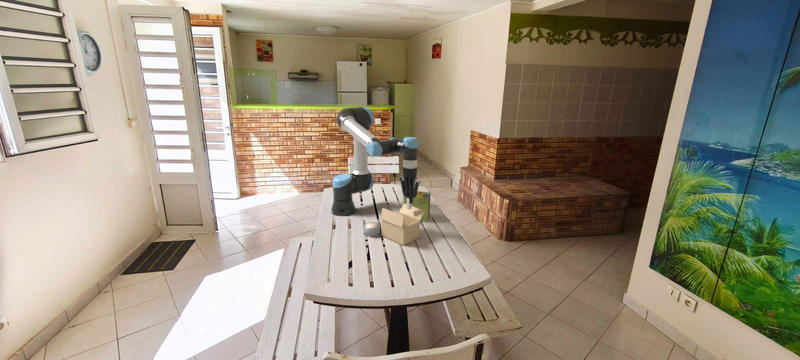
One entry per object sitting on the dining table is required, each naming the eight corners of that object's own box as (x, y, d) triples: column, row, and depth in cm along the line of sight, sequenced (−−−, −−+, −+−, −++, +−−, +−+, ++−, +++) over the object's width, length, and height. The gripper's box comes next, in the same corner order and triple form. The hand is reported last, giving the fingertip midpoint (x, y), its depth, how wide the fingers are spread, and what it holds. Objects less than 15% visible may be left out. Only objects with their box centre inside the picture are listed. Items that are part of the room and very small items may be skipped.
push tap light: (360, 233, 189) (360, 225, 187) (372, 228, 195) (372, 220, 194) (371, 238, 183) (371, 230, 181) (383, 233, 189) (383, 225, 188)
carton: (380, 235, 186) (380, 218, 183) (396, 228, 196) (397, 211, 193) (404, 246, 176) (404, 228, 173) (420, 237, 185) (420, 220, 182)
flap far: (419, 219, 183) (420, 220, 183) (425, 210, 185) (425, 211, 185) (398, 212, 192) (399, 212, 193) (404, 203, 194) (404, 203, 195)
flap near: (381, 218, 183) (381, 218, 182) (382, 208, 182) (382, 208, 181) (402, 227, 173) (402, 227, 173) (404, 216, 172) (403, 216, 172)
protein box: (428, 222, 204) (428, 197, 199) (402, 219, 207) (403, 195, 202) (430, 215, 214) (431, 191, 209) (405, 213, 217) (406, 190, 212)
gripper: (396, 166, 180) (395, 207, 188) (415, 170, 172) (414, 213, 180) (405, 163, 186) (404, 203, 193) (424, 167, 178) (422, 209, 185)
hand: (409, 208), depth 186 cm, fingers closed
